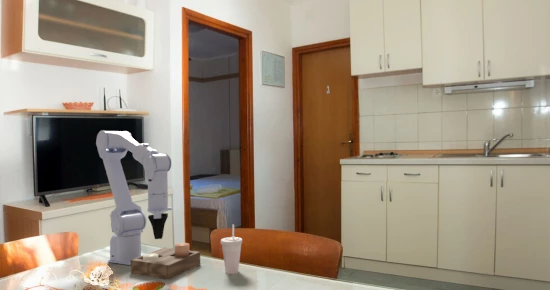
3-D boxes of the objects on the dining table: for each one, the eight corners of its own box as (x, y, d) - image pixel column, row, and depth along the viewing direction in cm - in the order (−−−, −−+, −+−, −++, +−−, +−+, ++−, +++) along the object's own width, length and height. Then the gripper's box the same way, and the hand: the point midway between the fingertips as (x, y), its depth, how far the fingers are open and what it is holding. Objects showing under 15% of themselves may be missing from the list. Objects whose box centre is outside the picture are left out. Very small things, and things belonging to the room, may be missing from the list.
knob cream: (139, 267, 116) (139, 256, 116) (150, 263, 120) (150, 252, 120) (151, 269, 114) (151, 258, 114) (161, 265, 118) (161, 254, 118)
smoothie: (239, 276, 111) (238, 227, 111) (217, 275, 112) (217, 226, 112) (245, 269, 117) (244, 222, 117) (225, 268, 119) (224, 222, 119)
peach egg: (171, 256, 119) (171, 245, 119) (180, 253, 123) (180, 242, 123) (183, 258, 117) (183, 247, 117) (192, 254, 121) (192, 243, 121)
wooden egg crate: (130, 273, 115) (130, 260, 115) (165, 259, 128) (164, 247, 128) (168, 279, 109) (168, 265, 109) (200, 264, 122) (200, 251, 122)
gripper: (171, 195, 112) (172, 243, 112) (171, 190, 126) (172, 232, 126) (145, 196, 110) (146, 245, 110) (148, 191, 124) (149, 234, 124)
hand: (158, 238), depth 118 cm, fingers closed
